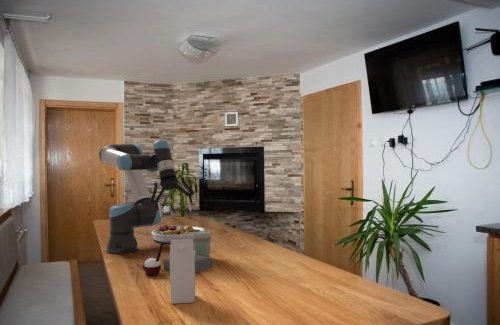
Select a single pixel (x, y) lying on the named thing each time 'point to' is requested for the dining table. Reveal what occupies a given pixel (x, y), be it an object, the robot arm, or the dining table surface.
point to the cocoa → (153, 264)
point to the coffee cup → (202, 242)
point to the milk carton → (182, 271)
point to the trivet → (200, 263)
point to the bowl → (174, 233)
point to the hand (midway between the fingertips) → (176, 213)
